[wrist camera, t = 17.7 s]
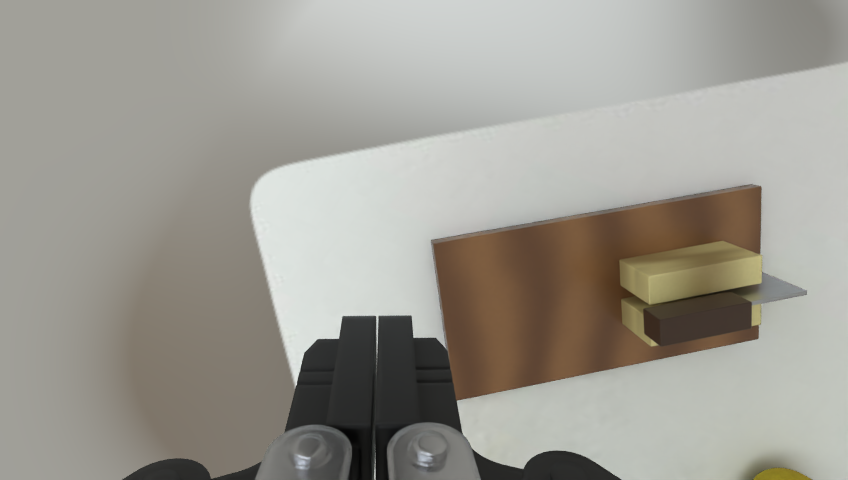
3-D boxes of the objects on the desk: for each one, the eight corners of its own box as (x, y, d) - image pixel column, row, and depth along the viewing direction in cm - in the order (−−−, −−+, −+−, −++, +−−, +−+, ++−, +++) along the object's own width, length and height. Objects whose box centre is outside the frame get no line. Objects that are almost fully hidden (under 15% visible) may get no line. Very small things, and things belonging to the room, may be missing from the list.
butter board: (452, 394, 41) (467, 432, 37) (430, 240, 38) (443, 260, 34) (749, 333, 44) (799, 362, 39) (751, 184, 41) (806, 195, 36)
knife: (609, 307, 40) (660, 347, 34) (608, 284, 40) (659, 320, 33) (750, 280, 41) (825, 314, 35) (750, 257, 41) (827, 287, 34)
